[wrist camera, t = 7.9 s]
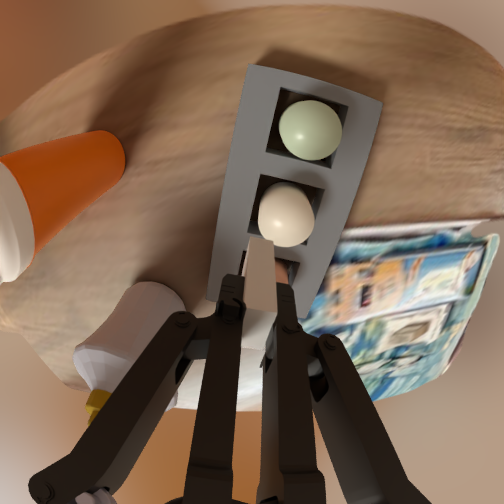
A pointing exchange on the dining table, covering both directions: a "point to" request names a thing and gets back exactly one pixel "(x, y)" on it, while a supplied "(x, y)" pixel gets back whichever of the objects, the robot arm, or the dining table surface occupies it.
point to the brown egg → (281, 271)
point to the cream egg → (285, 215)
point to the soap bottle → (123, 340)
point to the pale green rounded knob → (310, 129)
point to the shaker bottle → (51, 191)
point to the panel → (290, 178)
